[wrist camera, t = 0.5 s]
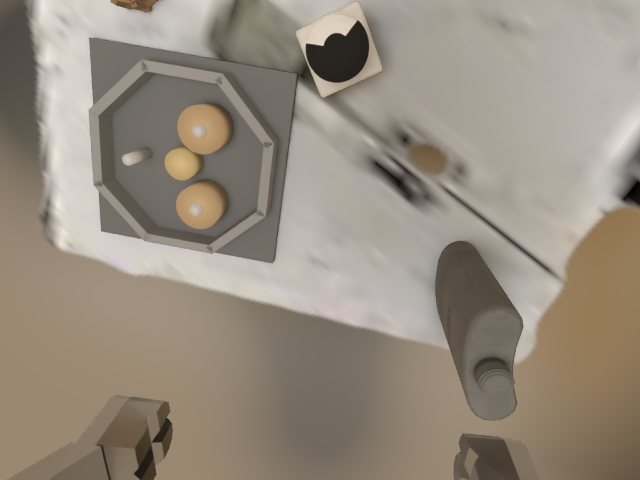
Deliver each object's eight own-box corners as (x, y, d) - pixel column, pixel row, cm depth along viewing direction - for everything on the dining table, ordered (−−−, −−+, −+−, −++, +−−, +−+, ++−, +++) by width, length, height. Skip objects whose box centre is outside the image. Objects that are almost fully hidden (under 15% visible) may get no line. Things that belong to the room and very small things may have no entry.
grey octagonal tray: (94, 38, 50) (61, 33, 44) (298, 73, 49) (290, 73, 44) (105, 228, 60) (79, 244, 54) (274, 260, 59) (265, 279, 54)
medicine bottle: (380, 71, 48) (386, 69, 37) (326, 95, 50) (316, 101, 39) (359, 9, 46) (358, -12, 35) (303, 37, 48) (286, 25, 37)
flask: (434, 242, 56) (470, 324, 38) (477, 239, 55) (536, 321, 37) (435, 331, 61) (468, 441, 43) (475, 329, 61) (524, 440, 42)
